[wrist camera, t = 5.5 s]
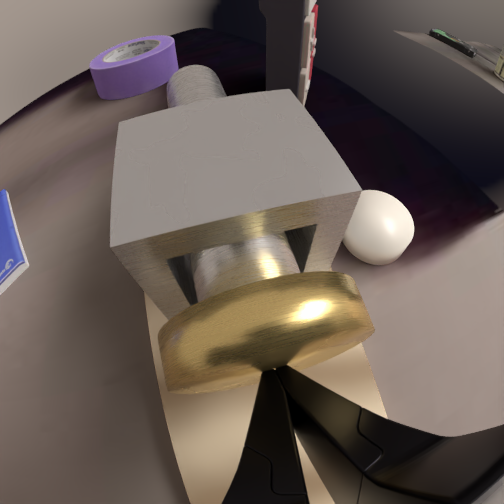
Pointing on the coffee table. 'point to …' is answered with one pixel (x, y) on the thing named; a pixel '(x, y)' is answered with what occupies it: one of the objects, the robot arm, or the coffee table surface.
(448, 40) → the disk drive
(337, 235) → the bearing block
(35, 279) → the coffee table surface
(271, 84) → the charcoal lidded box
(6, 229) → the hard drive
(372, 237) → the white rounded flat piece
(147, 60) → the tape roll
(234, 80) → the coffee table surface
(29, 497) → the coffee table surface
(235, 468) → the board
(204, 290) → the shaft
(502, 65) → the coffee can
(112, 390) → the coffee table surface
